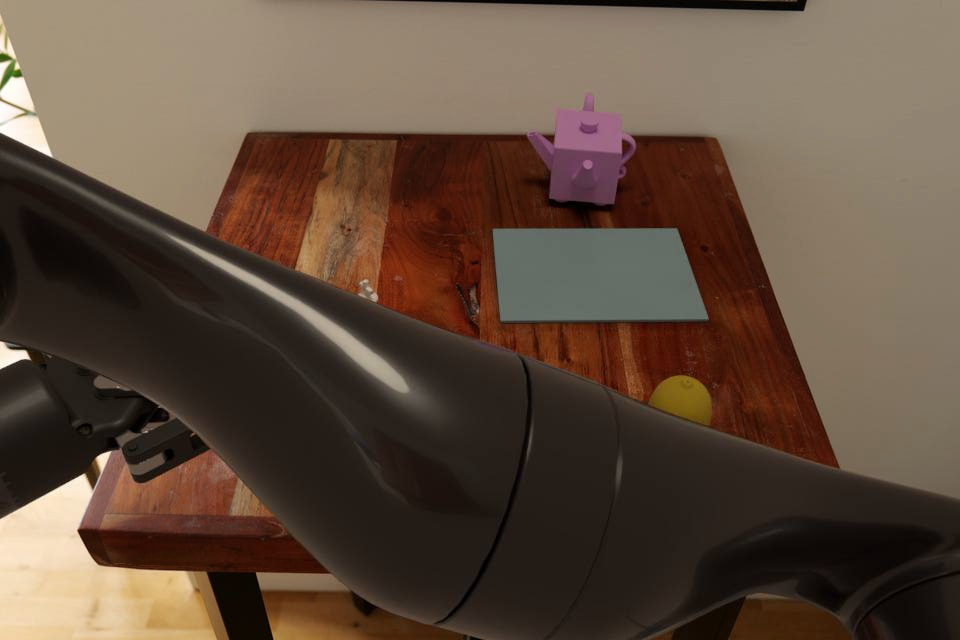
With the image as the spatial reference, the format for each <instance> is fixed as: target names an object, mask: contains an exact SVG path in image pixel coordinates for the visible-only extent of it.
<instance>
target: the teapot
mask: <svg viewBox="0 0 960 640" xmlns="http://www.w3.org/2000/svg"><path fill="white" fill-rule="evenodd" d="M526 137H527V140H528V141H529V142H530V144H531V145H532V147H533V148H534V150H535V151H536V153H537V155H539V158H541V160H542V162H543V163H544V164H545V165H546V167H547V168H548V170H549V171H550V180H549V181H550V182H549V194H548V199H549V200H555V201H556V202H558V203H566V202H569V201H570V202H571V201H572V202H582V203H593V204H594V205H596V206H601V207H602V206H606V205H615V201H616V194H617V188H618V182H619V180H621V179H623V178H624V177H625V176H626V174H627V168H626V166H625V164H626V163H627V162H628V161H629V160H630V159H631V158H632V157H633V156H634V154H635V152H636V150H637V144H636V141H635V139H634V138H633V137H632V136H631V135H630V134H629V133H627V132H622V114H621V113H615V112H602V111H595V96H594V94H593V92H587V93H585V96H584V104H583V107H582V110H579V109H565V108H557V109H556V119H555V128H554V137H553V138H554V139H553V143H551V142H550V140H548V139H547V138H546V137H544V136H543V135H542V134H541V133H540V132H539V131H538V130H533V131H527V135H526ZM623 141H624V142H626V143H628V145H629V149H628V150H627V151H626V153H624V154H623Z"/></svg>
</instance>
